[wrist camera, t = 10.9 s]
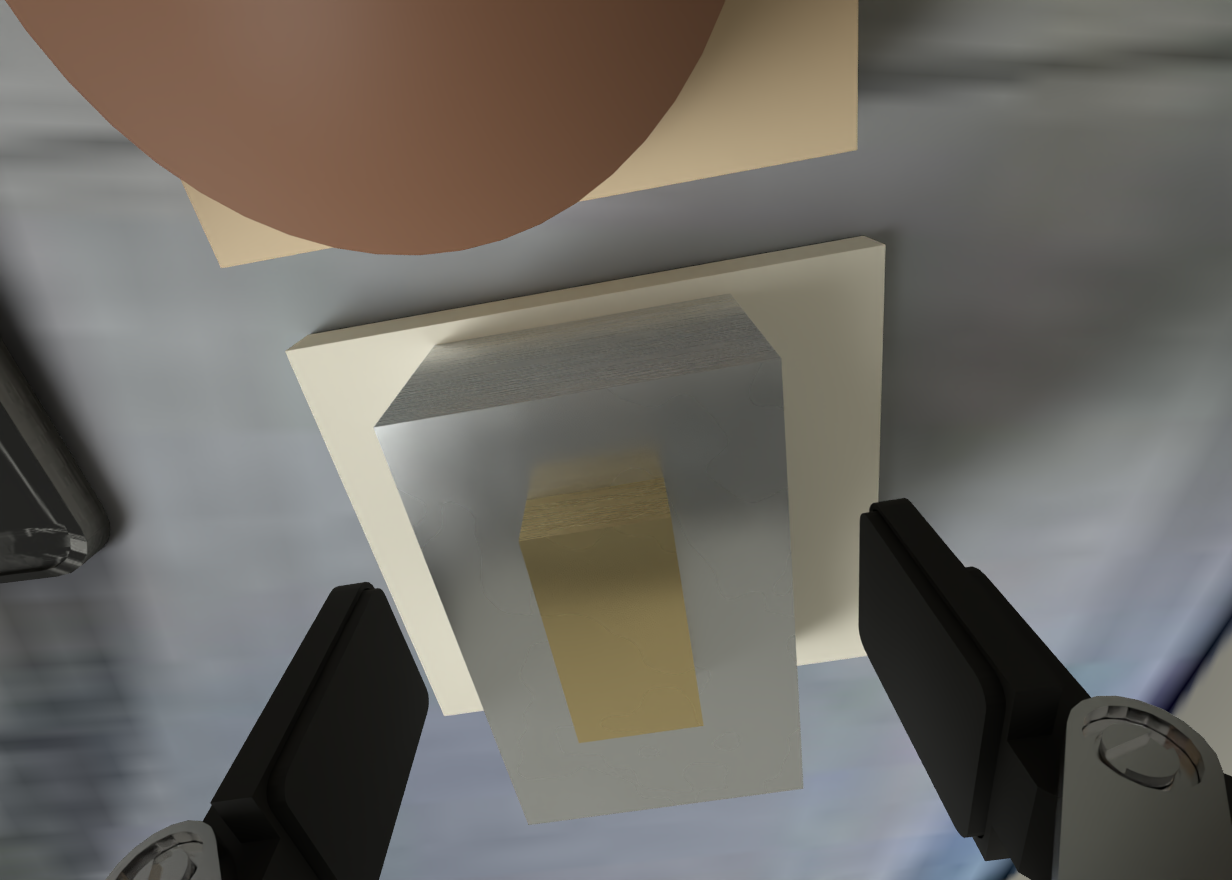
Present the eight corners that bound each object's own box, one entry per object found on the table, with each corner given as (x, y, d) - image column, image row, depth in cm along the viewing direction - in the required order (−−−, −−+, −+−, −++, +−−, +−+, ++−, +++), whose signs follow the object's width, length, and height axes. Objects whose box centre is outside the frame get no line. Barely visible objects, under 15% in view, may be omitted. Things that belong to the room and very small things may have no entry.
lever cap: (434, 344, 11) (346, 463, 7) (729, 293, 11) (803, 387, 7) (542, 684, 15) (523, 879, 11) (760, 652, 15) (819, 841, 11)
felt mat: (307, 335, 12) (285, 351, 11) (863, 235, 12) (885, 244, 11) (452, 684, 17) (444, 715, 16) (858, 625, 16) (874, 654, 15)
